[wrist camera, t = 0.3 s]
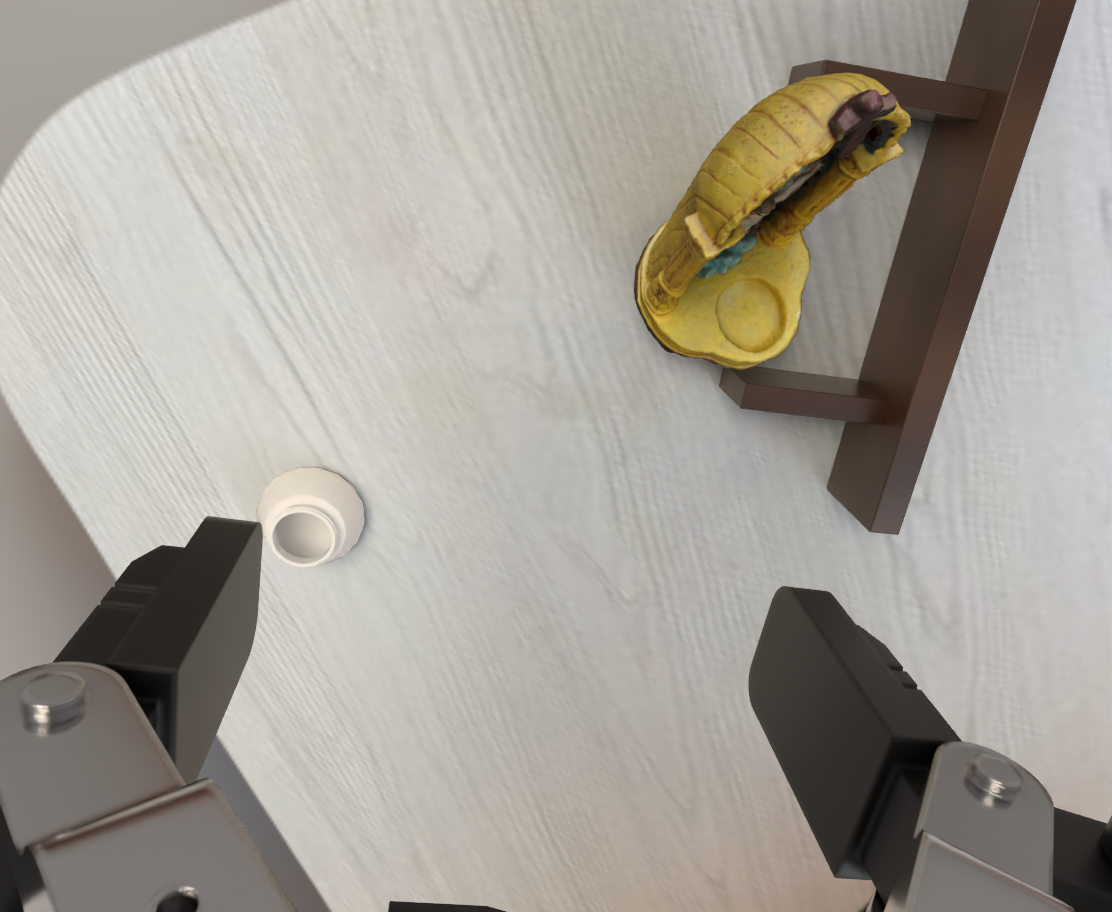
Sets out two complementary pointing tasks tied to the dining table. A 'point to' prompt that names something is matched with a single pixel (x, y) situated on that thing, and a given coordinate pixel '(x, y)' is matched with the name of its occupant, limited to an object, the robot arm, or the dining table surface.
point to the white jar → (310, 516)
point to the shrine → (761, 219)
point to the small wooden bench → (928, 253)
